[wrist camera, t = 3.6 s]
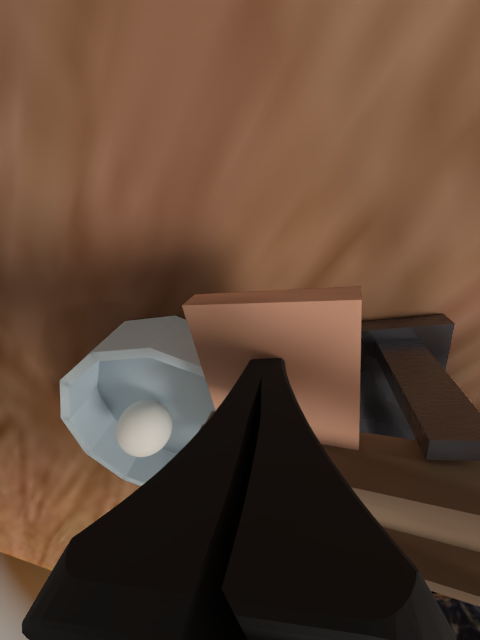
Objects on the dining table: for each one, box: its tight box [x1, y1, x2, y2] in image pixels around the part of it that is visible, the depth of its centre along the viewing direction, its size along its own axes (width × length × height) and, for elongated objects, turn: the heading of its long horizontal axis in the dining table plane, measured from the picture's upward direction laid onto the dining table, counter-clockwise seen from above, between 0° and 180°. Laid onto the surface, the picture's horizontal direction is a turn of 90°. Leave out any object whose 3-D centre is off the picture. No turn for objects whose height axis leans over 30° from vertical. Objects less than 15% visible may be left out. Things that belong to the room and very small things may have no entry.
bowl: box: [60, 316, 216, 486], centre depth 18 cm, size 13×13×4 cm
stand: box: [359, 314, 480, 461], centre depth 13 cm, size 10×5×7 cm, turn 11°
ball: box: [116, 400, 172, 457], centre depth 17 cm, size 4×4×4 cm
